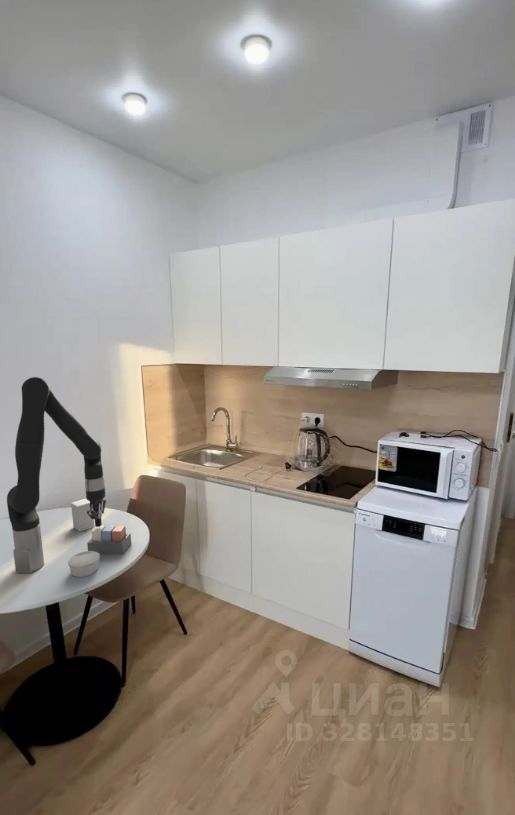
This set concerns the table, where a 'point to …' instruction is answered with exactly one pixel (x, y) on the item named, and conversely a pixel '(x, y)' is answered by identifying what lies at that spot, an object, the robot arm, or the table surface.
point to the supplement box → (81, 515)
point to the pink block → (119, 533)
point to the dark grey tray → (110, 546)
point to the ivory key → (97, 533)
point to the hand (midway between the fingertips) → (98, 525)
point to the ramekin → (84, 563)
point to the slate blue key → (107, 533)
